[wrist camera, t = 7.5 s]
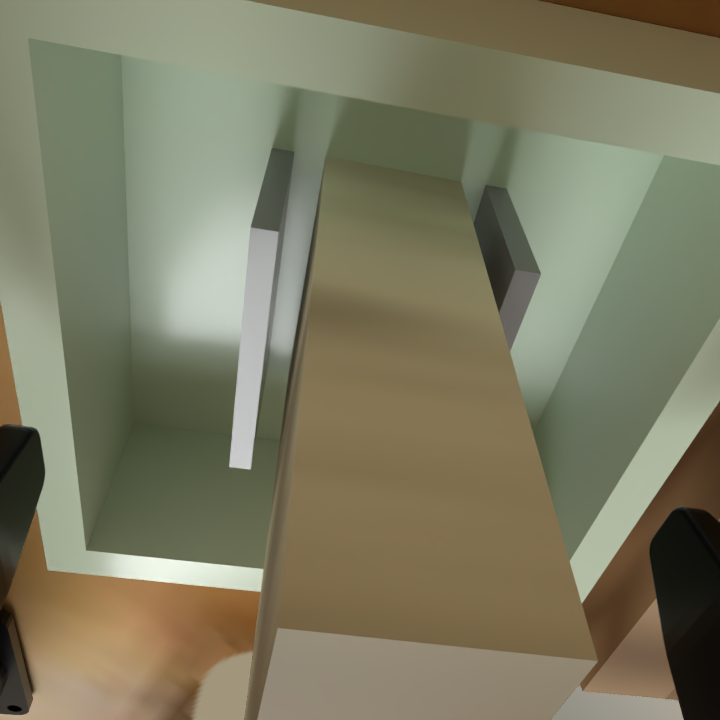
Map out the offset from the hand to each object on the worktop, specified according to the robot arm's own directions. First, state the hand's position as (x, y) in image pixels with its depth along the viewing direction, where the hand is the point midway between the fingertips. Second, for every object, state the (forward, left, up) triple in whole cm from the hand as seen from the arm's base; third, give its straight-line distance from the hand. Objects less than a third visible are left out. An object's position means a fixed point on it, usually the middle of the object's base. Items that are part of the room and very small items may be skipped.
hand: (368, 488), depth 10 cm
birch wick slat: (0, 0, -5) cm, 5 cm away
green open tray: (0, 0, -6) cm, 6 cm away
